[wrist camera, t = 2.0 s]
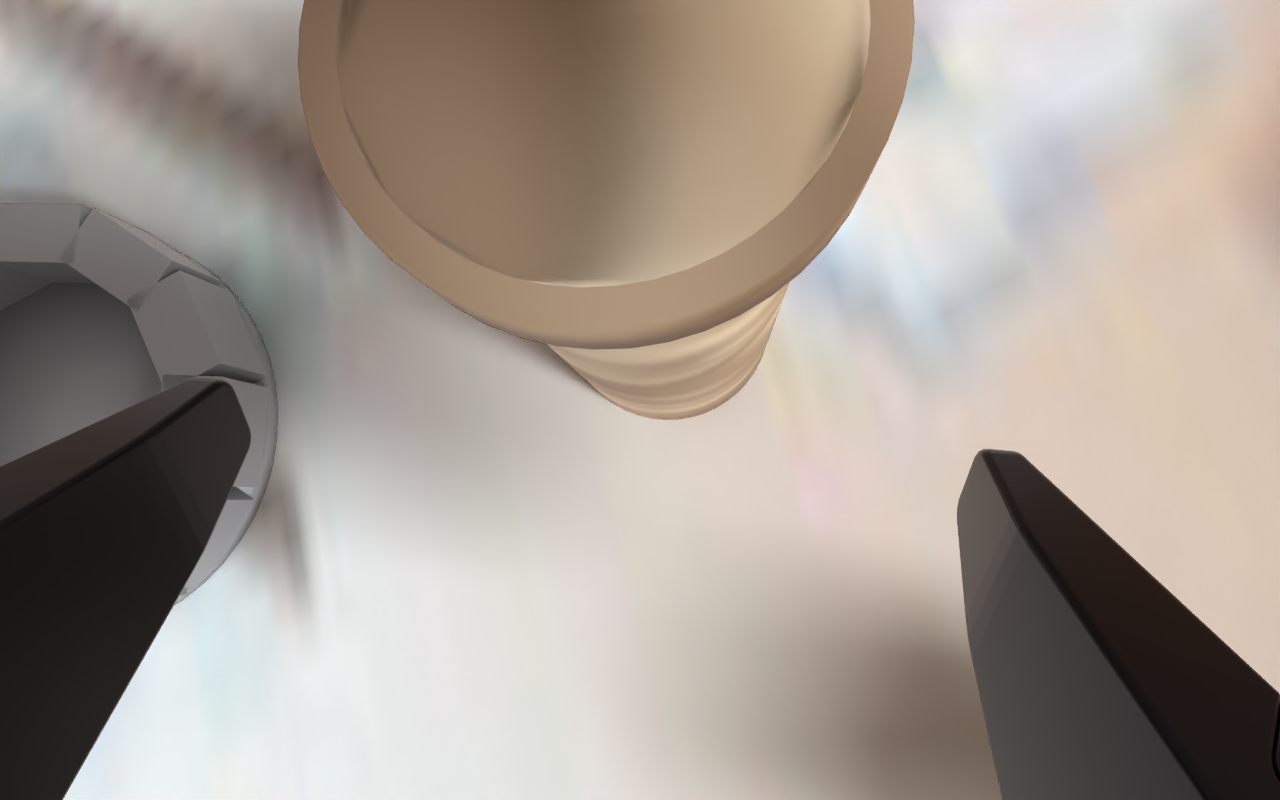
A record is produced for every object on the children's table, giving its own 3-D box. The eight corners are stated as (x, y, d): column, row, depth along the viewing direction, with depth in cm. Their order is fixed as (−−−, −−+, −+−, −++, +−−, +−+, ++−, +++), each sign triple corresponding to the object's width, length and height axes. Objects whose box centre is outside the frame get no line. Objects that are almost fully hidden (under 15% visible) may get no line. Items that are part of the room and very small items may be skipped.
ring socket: (121, 719, 20) (36, 751, 18) (-170, 490, 22) (-286, 490, 19) (355, 367, 21) (306, 349, 18) (56, 168, 23) (-28, 126, 20)
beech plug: (704, 480, 20) (692, 454, 7) (512, 357, 21) (184, 131, 8) (828, 283, 20) (1036, -91, 7) (634, 170, 21) (512, -344, 8)
